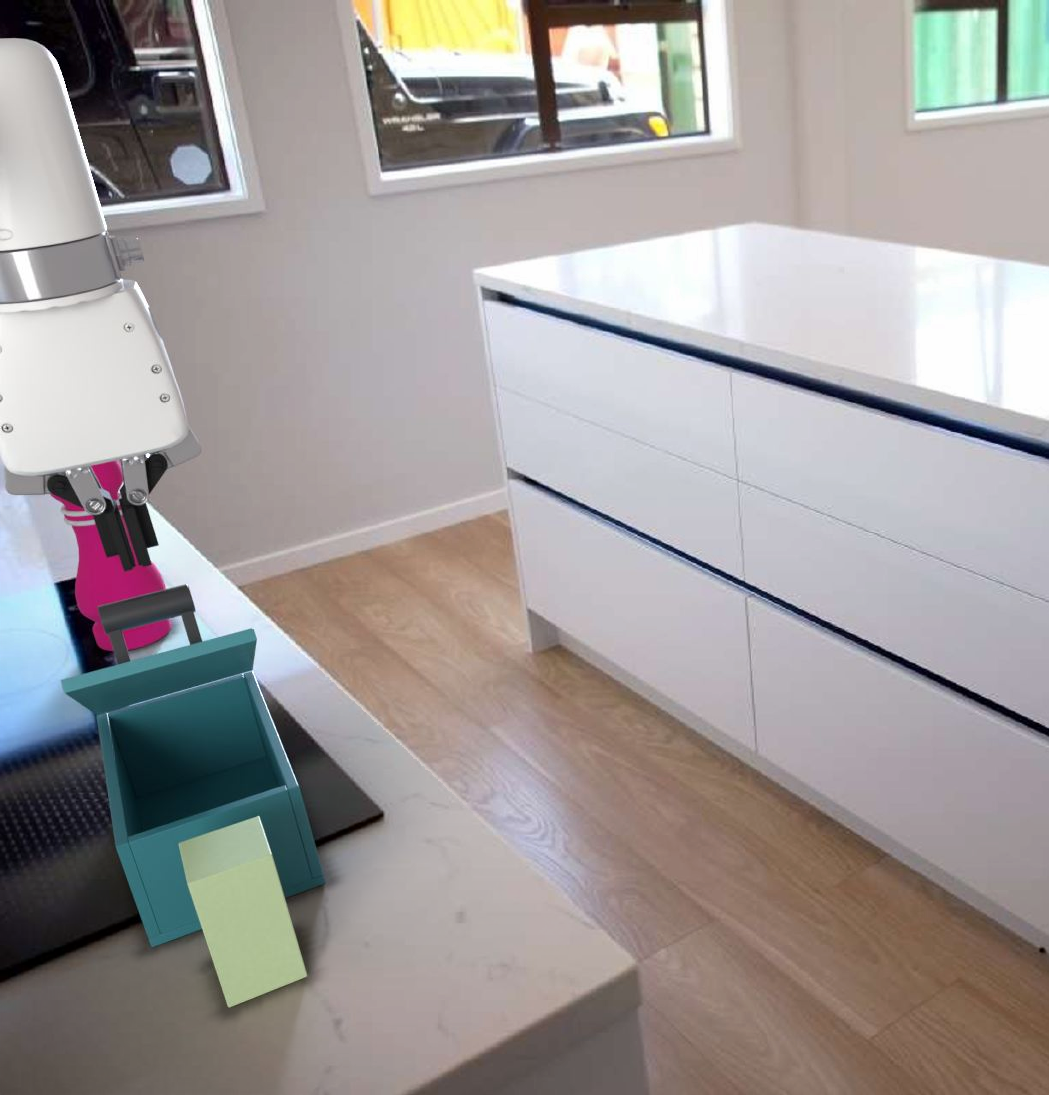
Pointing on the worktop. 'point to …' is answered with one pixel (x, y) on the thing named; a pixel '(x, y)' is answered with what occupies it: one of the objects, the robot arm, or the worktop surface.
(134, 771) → the box
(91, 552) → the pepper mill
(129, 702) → the lunchbox lid
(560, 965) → the worktop surface
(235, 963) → the carton
